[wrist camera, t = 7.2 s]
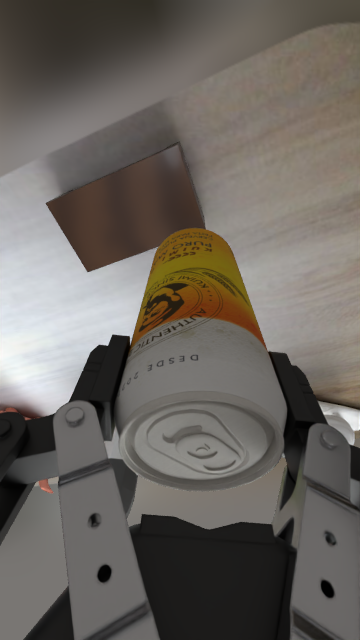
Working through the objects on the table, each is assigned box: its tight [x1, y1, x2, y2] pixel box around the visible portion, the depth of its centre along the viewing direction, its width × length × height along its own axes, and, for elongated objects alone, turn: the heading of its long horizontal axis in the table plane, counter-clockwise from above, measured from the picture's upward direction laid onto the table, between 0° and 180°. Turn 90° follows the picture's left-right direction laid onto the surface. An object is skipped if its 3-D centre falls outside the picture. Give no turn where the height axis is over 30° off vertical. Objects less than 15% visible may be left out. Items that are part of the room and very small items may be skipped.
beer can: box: [114, 228, 287, 491], centre depth 15 cm, size 6×6×15 cm
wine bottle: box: [105, 426, 138, 519], centre depth 50 cm, size 8×8×30 cm
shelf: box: [46, 142, 206, 272], centre depth 34 cm, size 16×9×5 cm, turn 111°
